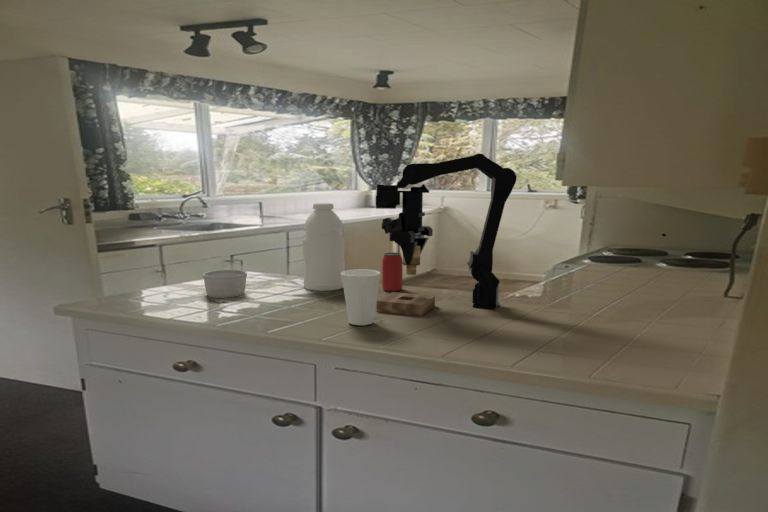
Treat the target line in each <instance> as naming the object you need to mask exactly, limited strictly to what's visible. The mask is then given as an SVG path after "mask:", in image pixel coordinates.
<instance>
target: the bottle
mask: <svg viewBox="0 0 768 512" xmlns="http://www.w3.org/2000/svg"><path fill="white" fill-rule="evenodd" d="M312 204H313V205H312V209H313V211H312V212H311V214H309V216H308V217H307V218H306V221H305V223H304V224H303V225H304V226H303V231H305V233H306V234H305V236H304V237H303V238H302V252H303V253H302V254H303V256H302V257H303V260H302V261H303V288H304V289H306V290H309V291H316V292H320V291H321V292H325V291H326V292H327V291H338V290H341V289H344V288H343V282H342V278H341V272H343V271H346V270H345V269H346V267H345V265H346V263H345V259H346V258H345V257H346V256H345V243H346V239H345V238H344V236H343V235H342V233H341V232H342V231H344V230H345V229H344V225H343V222H342V221H341V219H340V217H339V216H338V215H337V214H336V212H335V211H333V209H334V204H333V203H330V202H329V203H328V202H321V203H319V202H318V203H312Z"/></svg>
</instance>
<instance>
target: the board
mask: <svg viewBox="0 0 768 512" xmlns="http://www.w3.org/2000/svg"><path fill="white" fill-rule="evenodd" d="M435 307H436V296H435V295H428V294H417V293H406V292H398V291H394V292H389V294H386V295H385V296H383V297H381V298H379V299H377V301H376V312H378V313H379V312H380V313H389V314H399V315H408V316H417V317H423V316H424V315H425V314H426V313H428V312H429V311H431V309H433V308H435Z"/></svg>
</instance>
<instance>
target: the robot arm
mask: <svg viewBox="0 0 768 512" xmlns="http://www.w3.org/2000/svg"><path fill="white" fill-rule="evenodd" d="M473 169H477V170H479V172H481V173H482V174H484V175H485V176H486V177H487V178H489V179H491V182H490V183H491V184H490V202H489V206H488V210H487V213H486V217H485V221H484V225H483V229H482V232H481V236H480V241H479V244H478V247H477V248H476V250H475V252H474V251H472V250H470V253H469V260H468V262H467V263H466V264H467V266H468V271H469V273H470V275H471V277H472V278H473V279H474V280H475V281H476V283H475V284H474V288H473V290H472V301H471V303H472V307H473V308H482V309H483V308H484V309H493V310H495V309H497V307H498V306H499V305H500V302H499V285H500V282H501V281H500V279H499V278H498V277H497V276H496V275H495V273H493V264H494V261H493V260H494V259H493V258H494V254H493V250H494V247H495V243H496V240H497V235H498V233H499V228H500V224H501V220H502V216H503V212H504V208H505V205H506V202H507V200H508V198H509V196H510V195H511V193H512V191H513V189H514V187H515V186H516V185H515V184H516V182H517V174H516V172H515V171H514V170H513V169H511V168H509V167H503V166H501V165H500V164H498V163H497V162H494V161H493V160H491V159H490V158H489V157H486V155H485V154H483V153H476V154H473V155H469V156H463V157H460V158H453V159H451V160H450V159H449V160H445V161H440V162H434V163H432V162H430V163H429V162H428V163H421V162H420V163H409V164H407V165H406V166H405V167H404V168H403V170H402V176H401V179H400V180H398V181H397V183H396V184H395V185H394V184H393V185H391V184H376V195H375V208H376V209H391V210H392V209H393V210H395V209H397V206H400V205H402V206H401V208H402V210H401V212H399V213H398V217H397V218H395V219H392V218H391V217H386V218H383V219H382V222H381V229H382V230H384V233H385V235H387V234H389V241H390V242H394V243H395V244H397V245H398V246H399V247H400V249H401V251H402V257H403V256H404V259H405V263H406V265H410V264H411V261H412V258H413V255H414V251H415V248H416V245H417V246H420V255H421V254H422V252H423V250H424V248H425V246H426V244H427V242H428V240H429V239H430V238H429V237H433V235H434V233H433V231H434V230H433V228H432V227H431V226H430V225H423V217H425V216H426V214H425V213H426V212H425V211H423V201H424V200H423V199H424V198H423V197H424V194H426V193H427V194H428V193H430V190H429V189H428V188H427V186H426V185H425V184H422V185H421V186H413V185H418V184H421V183H423V182H425V181H427V180H430V179H433V178H436V177H439V176H443V175H447V174H454V173H458V172H464V171H469V170H473ZM410 185H412V186H410ZM408 186H410V190H399V189H404V188H406V187H408ZM401 194H402V200H401ZM401 201H402V202H401ZM401 203H402V204H401ZM425 236H427V237H425ZM406 265H405V266H406Z"/></svg>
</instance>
